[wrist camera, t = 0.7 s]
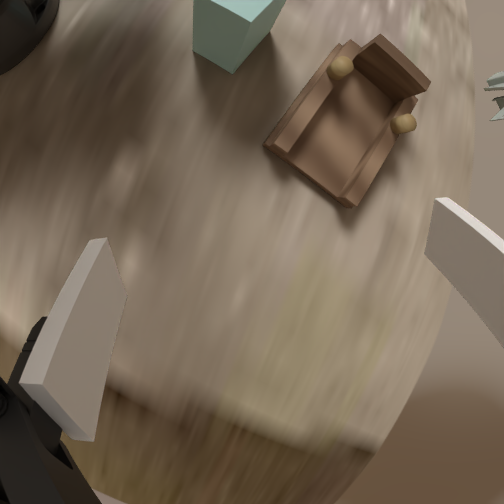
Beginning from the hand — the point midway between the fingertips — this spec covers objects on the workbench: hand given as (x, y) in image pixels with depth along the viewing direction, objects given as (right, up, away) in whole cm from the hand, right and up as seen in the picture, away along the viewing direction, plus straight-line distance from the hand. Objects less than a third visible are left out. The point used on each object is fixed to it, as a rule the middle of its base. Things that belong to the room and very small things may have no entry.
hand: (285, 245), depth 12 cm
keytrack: (+8, +14, +19) cm, 25 cm away
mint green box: (-3, +22, +16) cm, 27 cm away
